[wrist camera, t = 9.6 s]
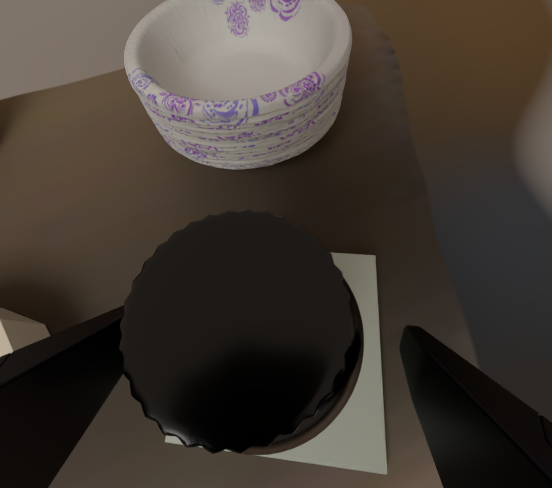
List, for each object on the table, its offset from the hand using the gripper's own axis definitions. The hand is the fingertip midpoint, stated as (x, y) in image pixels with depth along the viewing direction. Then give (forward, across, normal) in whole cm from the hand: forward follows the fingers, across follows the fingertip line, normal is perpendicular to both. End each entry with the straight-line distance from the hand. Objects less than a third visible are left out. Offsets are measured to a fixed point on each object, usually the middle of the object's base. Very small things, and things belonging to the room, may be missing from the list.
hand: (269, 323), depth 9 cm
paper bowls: (+19, +4, -7) cm, 21 cm away
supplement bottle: (+6, 0, +6) cm, 8 cm away
